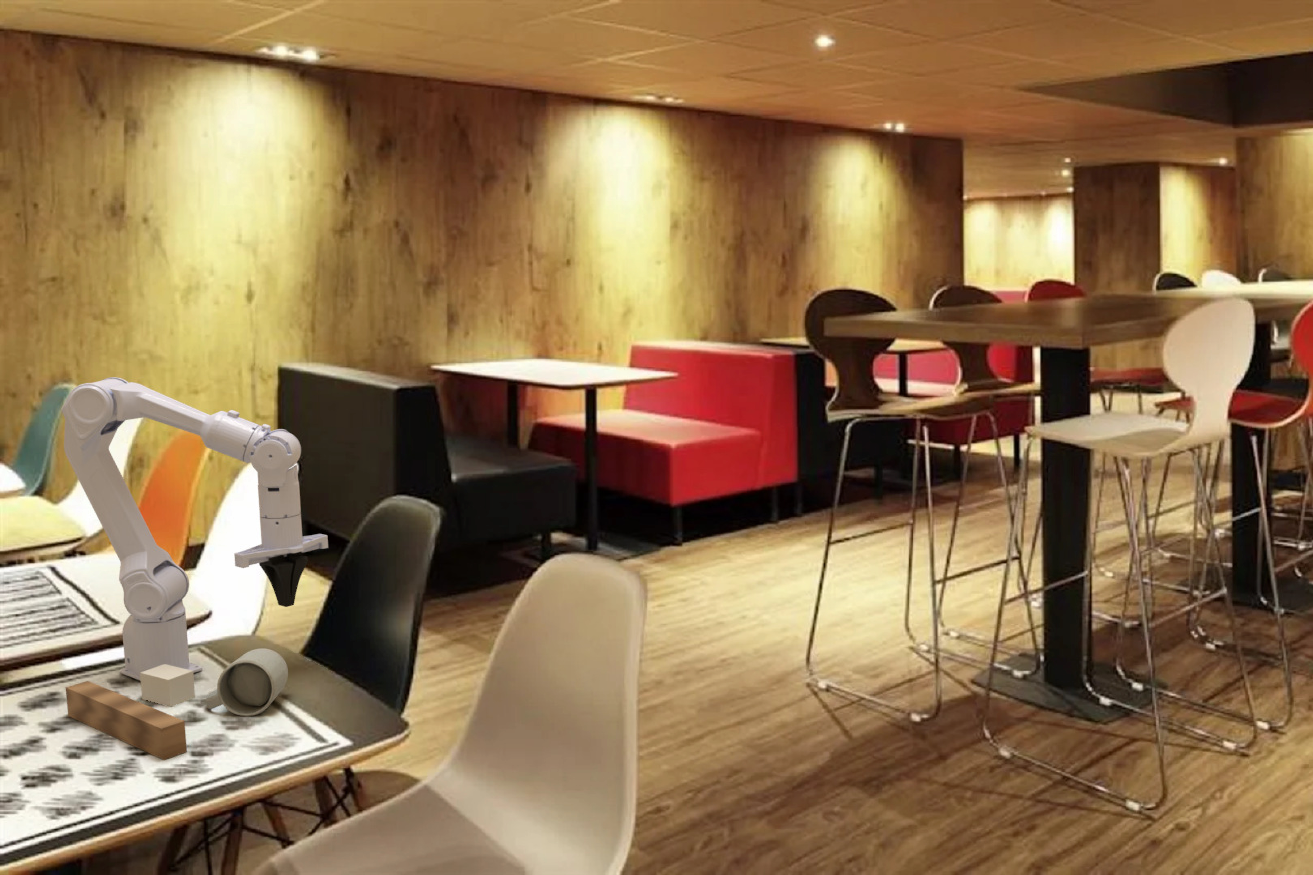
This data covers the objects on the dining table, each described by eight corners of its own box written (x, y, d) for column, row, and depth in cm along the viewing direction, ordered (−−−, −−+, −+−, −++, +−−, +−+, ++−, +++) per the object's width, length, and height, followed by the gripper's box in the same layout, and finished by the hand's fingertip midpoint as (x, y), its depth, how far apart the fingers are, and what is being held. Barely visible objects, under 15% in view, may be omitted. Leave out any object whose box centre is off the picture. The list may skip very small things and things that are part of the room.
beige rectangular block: (142, 700, 163) (139, 672, 162) (166, 691, 166) (164, 664, 165) (170, 708, 160) (168, 679, 159) (195, 698, 163) (193, 670, 162)
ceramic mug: (293, 693, 164) (288, 640, 163) (276, 715, 156) (271, 660, 155) (216, 696, 164) (211, 644, 162) (196, 719, 155) (190, 663, 154)
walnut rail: (68, 715, 157) (65, 687, 156) (90, 709, 159) (87, 680, 158) (164, 760, 142) (161, 728, 142) (186, 751, 145) (184, 720, 144)
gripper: (252, 527, 162) (258, 621, 164) (338, 509, 173) (343, 597, 175) (223, 521, 166) (230, 613, 168) (309, 503, 178) (314, 590, 180)
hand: (286, 604), depth 172 cm, fingers closed
